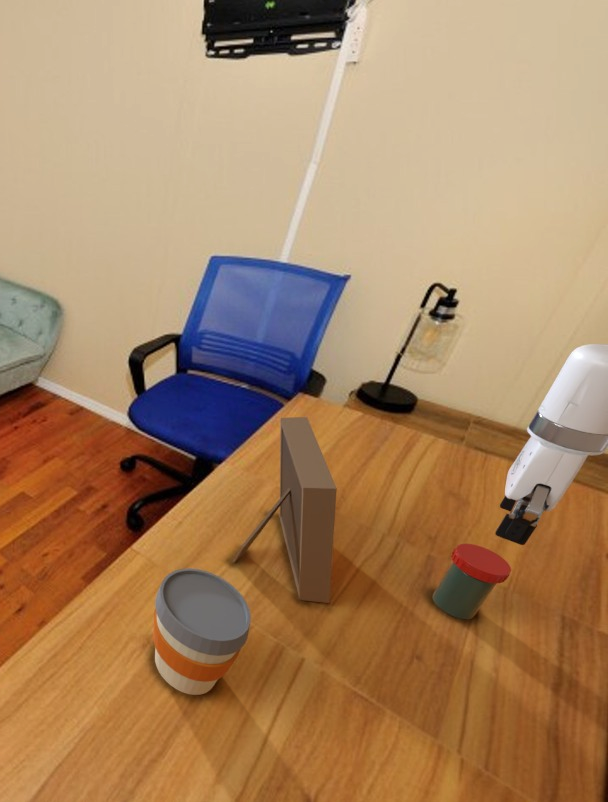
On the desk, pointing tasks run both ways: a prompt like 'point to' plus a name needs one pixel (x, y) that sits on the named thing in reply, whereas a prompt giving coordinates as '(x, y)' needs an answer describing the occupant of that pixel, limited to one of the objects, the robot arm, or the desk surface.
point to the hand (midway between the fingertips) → (511, 524)
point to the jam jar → (461, 593)
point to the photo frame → (304, 510)
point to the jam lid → (481, 563)
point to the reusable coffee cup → (198, 629)
